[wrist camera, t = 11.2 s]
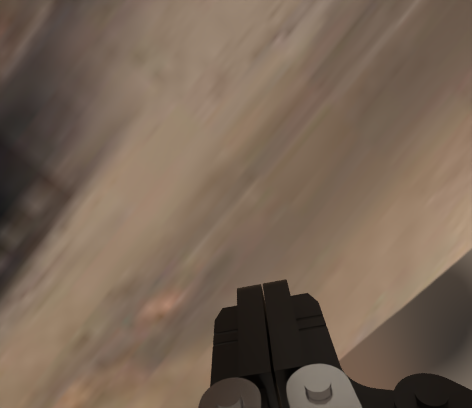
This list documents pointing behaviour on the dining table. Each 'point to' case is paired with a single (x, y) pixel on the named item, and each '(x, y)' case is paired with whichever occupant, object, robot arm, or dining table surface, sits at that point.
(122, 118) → the dining table surface
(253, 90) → the dining table surface
